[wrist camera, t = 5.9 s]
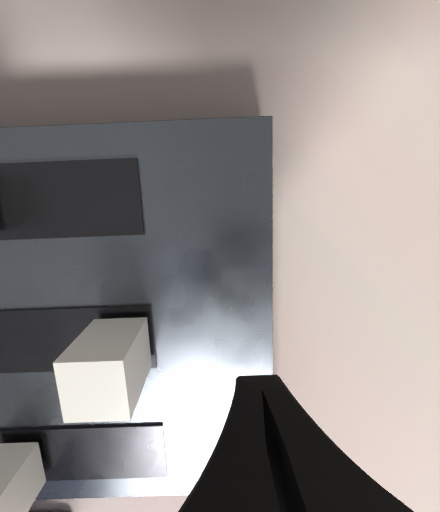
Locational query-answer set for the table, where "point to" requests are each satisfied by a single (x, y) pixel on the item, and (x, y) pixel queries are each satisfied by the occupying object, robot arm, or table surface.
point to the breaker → (20, 476)
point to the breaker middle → (104, 371)
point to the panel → (134, 288)
